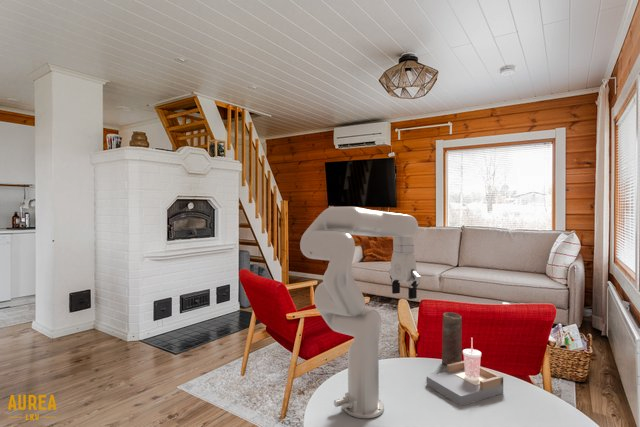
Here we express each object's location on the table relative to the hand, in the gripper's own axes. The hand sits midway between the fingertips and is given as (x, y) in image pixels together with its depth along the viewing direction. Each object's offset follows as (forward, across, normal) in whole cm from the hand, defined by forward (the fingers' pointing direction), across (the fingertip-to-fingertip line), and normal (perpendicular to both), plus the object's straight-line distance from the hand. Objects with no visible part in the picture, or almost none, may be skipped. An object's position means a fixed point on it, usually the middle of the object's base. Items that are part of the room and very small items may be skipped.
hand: (404, 295), depth 139 cm
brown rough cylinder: (+31, -2, +25) cm, 39 cm away
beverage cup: (+27, +16, +17) cm, 36 cm away
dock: (+30, +16, +13) cm, 37 cm away
